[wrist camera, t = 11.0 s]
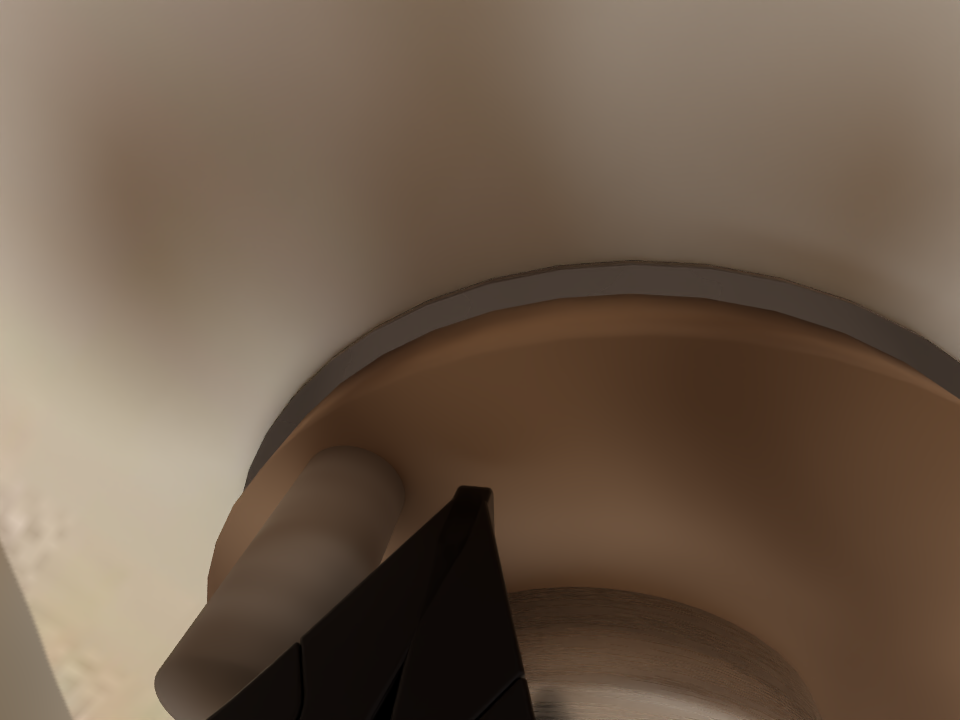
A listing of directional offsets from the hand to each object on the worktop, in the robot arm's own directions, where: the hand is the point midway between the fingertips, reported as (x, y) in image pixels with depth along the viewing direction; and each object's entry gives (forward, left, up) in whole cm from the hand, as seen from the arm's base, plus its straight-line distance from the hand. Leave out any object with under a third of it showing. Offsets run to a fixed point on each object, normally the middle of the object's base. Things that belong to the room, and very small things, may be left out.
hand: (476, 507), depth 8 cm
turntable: (-3, +7, -3) cm, 9 cm away
